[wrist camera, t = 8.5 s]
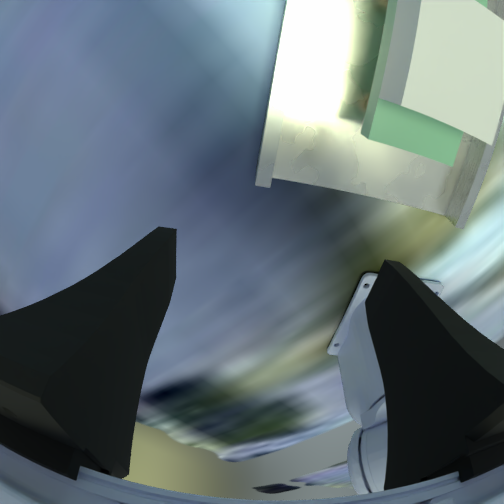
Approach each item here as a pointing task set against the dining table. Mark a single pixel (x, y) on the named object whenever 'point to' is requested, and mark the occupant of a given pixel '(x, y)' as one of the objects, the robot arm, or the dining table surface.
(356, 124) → the chassis
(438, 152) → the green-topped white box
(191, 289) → the dining table surface
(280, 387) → the dining table surface
